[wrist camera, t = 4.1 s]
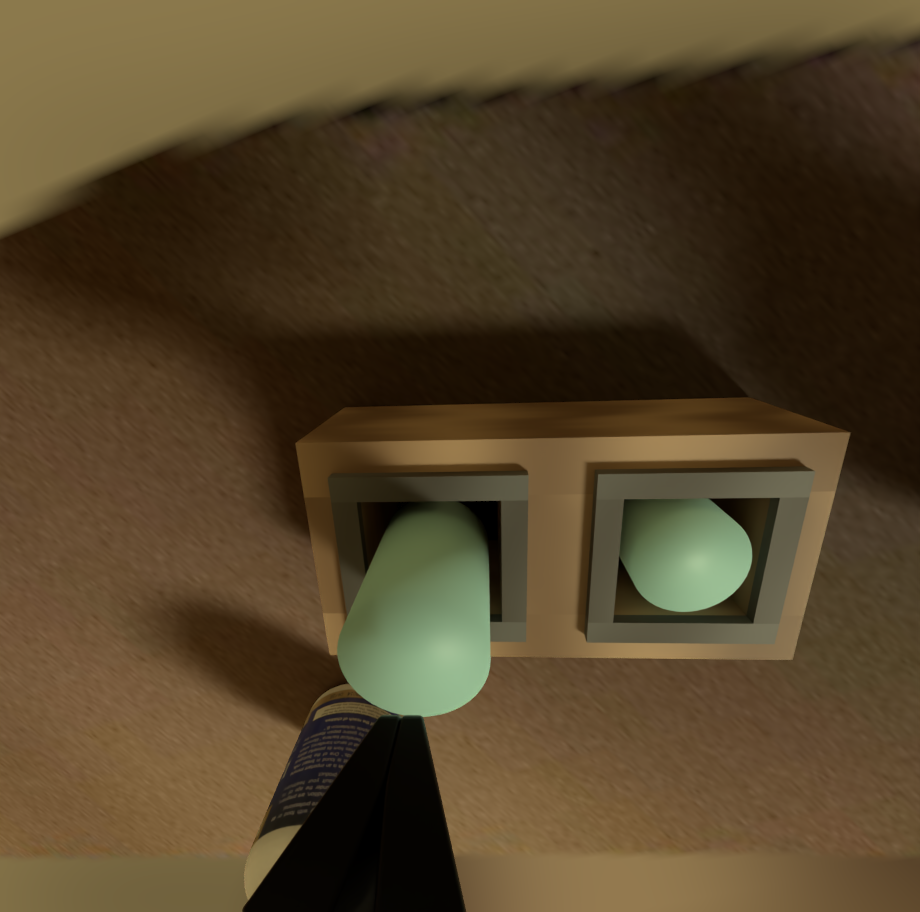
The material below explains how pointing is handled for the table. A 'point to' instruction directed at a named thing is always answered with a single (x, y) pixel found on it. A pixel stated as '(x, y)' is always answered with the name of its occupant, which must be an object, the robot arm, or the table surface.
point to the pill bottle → (310, 773)
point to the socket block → (583, 513)
